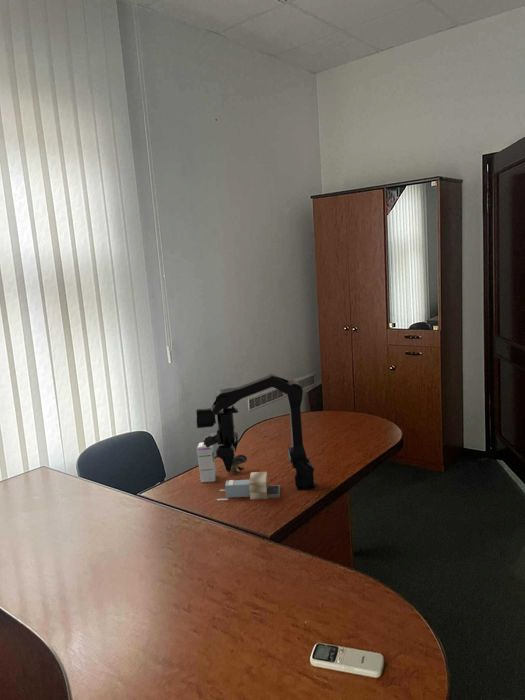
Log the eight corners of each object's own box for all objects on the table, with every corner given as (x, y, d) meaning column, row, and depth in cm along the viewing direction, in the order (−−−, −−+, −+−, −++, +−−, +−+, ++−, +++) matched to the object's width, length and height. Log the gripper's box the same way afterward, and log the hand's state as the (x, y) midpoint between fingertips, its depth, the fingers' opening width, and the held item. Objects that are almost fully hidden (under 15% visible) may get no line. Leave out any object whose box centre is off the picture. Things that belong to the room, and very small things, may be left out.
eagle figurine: (240, 474, 217) (251, 462, 224) (229, 459, 217) (240, 448, 225) (228, 481, 222) (240, 469, 229) (217, 466, 222) (229, 455, 229)
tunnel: (268, 487, 205) (266, 471, 204) (267, 498, 195) (265, 482, 194) (252, 488, 205) (250, 472, 204) (250, 499, 196) (248, 483, 195)
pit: (280, 487, 204) (280, 484, 204) (280, 497, 196) (279, 494, 196) (268, 488, 205) (267, 485, 204) (267, 497, 196) (266, 495, 196)
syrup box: (215, 481, 214) (211, 446, 212) (200, 482, 215) (196, 447, 212) (216, 475, 220) (213, 441, 218) (202, 476, 220) (198, 442, 218)
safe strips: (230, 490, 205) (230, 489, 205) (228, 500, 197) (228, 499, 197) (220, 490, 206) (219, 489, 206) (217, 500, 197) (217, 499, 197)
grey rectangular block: (265, 490, 203) (264, 478, 202) (264, 495, 198) (263, 483, 197) (227, 492, 203) (226, 480, 203) (226, 497, 199) (224, 485, 198)
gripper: (207, 419, 207) (211, 458, 209) (199, 434, 188) (203, 478, 191) (236, 417, 206) (240, 457, 208) (231, 432, 187) (235, 476, 190)
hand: (229, 466), depth 199 cm, fingers open, 9 cm apart
